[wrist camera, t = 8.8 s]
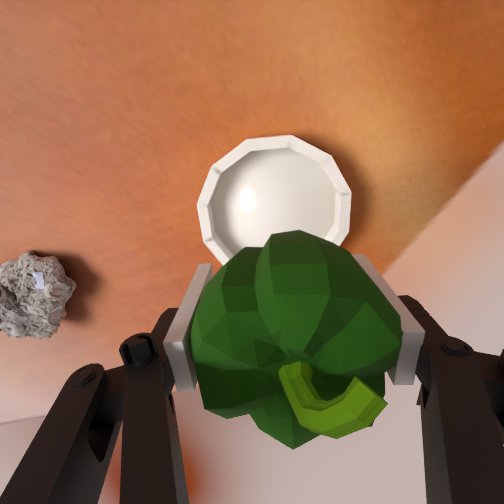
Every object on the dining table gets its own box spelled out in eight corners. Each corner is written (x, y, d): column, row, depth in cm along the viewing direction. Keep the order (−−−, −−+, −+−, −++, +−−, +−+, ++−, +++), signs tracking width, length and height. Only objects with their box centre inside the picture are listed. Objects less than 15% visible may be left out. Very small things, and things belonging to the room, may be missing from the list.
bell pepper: (253, 344, 19) (244, 542, 10) (190, 249, 16) (96, 407, 7) (371, 301, 17) (491, 496, 8) (323, 184, 14) (429, 287, 5)
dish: (215, 274, 33) (211, 286, 31) (193, 143, 27) (186, 145, 24) (339, 266, 32) (346, 278, 30) (346, 128, 26) (355, 128, 23)
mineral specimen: (-13, 272, 35) (39, 227, 31) (55, 325, 39) (109, 292, 35) (-63, 301, 30) (-8, 252, 26) (21, 359, 34) (80, 324, 30)
